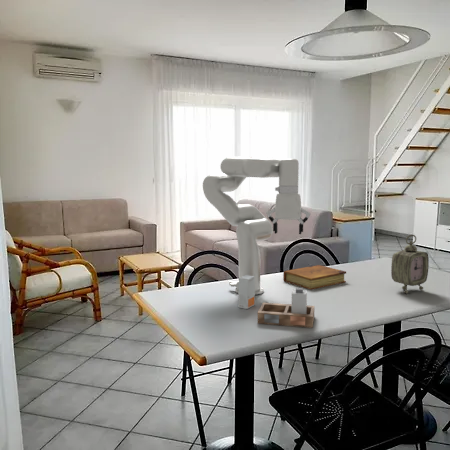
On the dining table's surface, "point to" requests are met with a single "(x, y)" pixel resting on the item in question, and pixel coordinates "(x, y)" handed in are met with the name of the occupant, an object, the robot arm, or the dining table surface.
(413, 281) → the tabletop clock
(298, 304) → the plug
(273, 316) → the socket block
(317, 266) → the diary
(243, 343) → the dining table surface
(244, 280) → the skincare box
